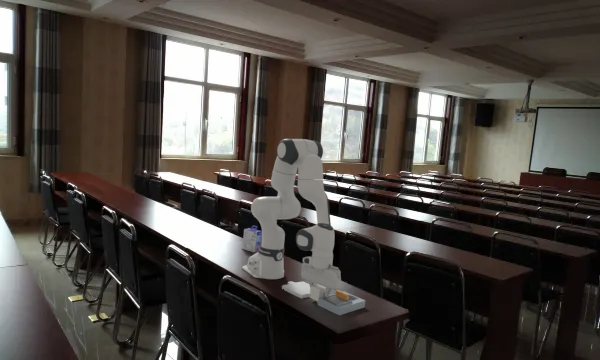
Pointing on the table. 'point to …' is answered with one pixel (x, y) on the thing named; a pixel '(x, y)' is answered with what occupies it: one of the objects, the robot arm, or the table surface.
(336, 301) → the shutter
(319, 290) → the white block
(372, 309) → the table surface
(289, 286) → the mounting plate
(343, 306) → the socket
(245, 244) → the ink cartridge box
